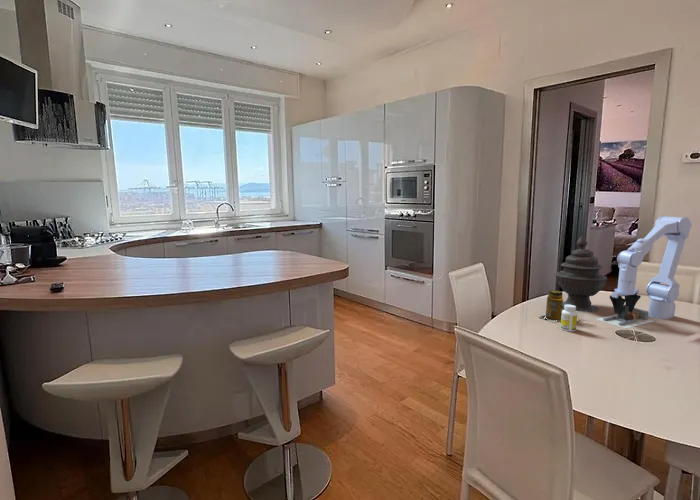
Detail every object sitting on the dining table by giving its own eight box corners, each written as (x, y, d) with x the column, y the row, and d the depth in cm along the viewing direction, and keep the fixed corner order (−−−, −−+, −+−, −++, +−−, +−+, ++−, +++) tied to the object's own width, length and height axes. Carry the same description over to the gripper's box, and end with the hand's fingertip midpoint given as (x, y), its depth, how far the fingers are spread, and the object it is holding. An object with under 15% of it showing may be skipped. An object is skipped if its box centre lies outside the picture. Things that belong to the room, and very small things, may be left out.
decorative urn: (615, 316, 164) (616, 235, 161) (564, 317, 168) (564, 238, 165) (594, 305, 184) (594, 233, 181) (549, 305, 188) (548, 235, 184)
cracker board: (624, 315, 167) (625, 305, 167) (655, 324, 157) (656, 312, 156) (595, 322, 159) (596, 310, 159) (625, 331, 149) (626, 319, 148)
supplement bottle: (574, 328, 153) (576, 304, 151) (577, 332, 148) (579, 308, 146) (559, 326, 155) (561, 303, 153) (561, 331, 150) (563, 307, 148)
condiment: (565, 319, 164) (568, 292, 162) (554, 322, 159) (557, 295, 157) (548, 314, 170) (551, 288, 168) (538, 317, 165) (540, 291, 163)
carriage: (623, 317, 161) (625, 302, 160) (634, 320, 157) (636, 305, 156) (614, 319, 158) (616, 304, 157) (625, 322, 154) (627, 307, 153)
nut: (629, 316, 162) (630, 309, 162) (640, 319, 159) (641, 312, 158) (624, 317, 161) (624, 310, 160) (634, 320, 157) (635, 313, 157)
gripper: (627, 276, 161) (623, 307, 163) (605, 280, 155) (602, 312, 157) (646, 280, 154) (642, 312, 157) (623, 283, 149) (620, 317, 151)
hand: (623, 312), depth 156 cm, fingers open, 7 cm apart
